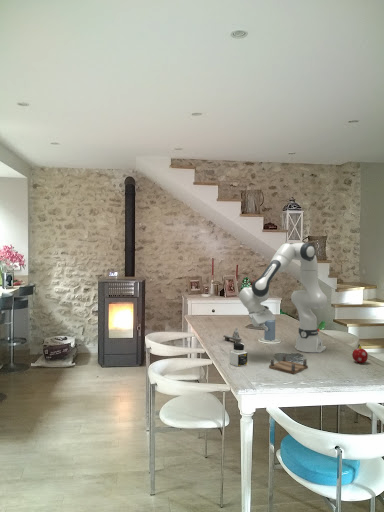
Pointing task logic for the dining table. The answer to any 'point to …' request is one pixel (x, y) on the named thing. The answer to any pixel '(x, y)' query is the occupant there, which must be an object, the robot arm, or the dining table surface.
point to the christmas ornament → (360, 355)
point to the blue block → (270, 330)
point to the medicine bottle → (238, 355)
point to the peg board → (288, 366)
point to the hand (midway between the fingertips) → (270, 329)
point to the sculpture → (233, 337)
